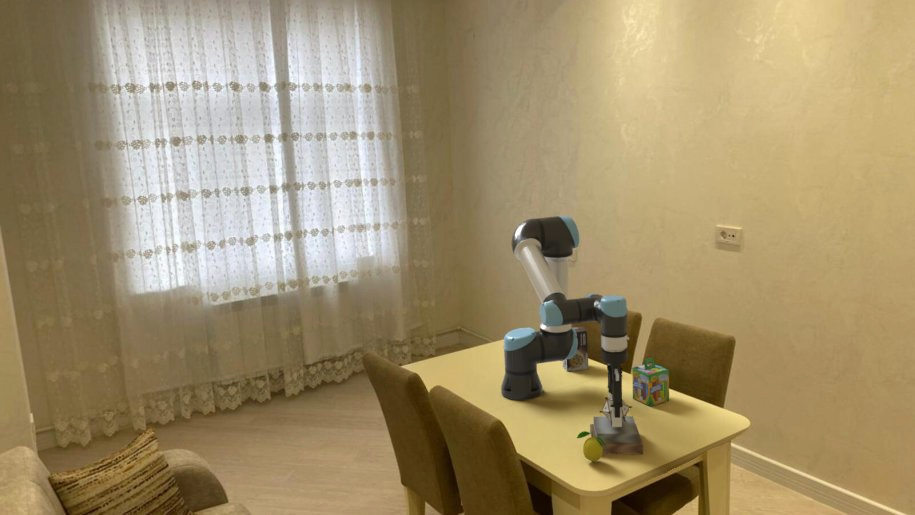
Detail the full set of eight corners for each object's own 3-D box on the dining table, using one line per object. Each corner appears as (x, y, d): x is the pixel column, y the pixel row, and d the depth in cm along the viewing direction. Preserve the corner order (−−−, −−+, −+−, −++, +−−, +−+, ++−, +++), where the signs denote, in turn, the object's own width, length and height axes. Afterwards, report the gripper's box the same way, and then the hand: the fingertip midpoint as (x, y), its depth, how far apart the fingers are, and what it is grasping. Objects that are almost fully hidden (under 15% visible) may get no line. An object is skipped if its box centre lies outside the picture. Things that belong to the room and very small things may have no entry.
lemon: (577, 459, 194) (576, 427, 192) (593, 454, 196) (593, 423, 195) (591, 469, 188) (590, 436, 186) (607, 464, 190) (607, 431, 189)
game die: (621, 434, 201) (633, 419, 194) (594, 425, 202) (605, 409, 194) (624, 409, 207) (636, 393, 200) (598, 400, 208) (609, 384, 200)
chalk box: (650, 407, 227) (650, 365, 224) (631, 398, 235) (631, 358, 232) (670, 401, 231) (670, 360, 228) (651, 392, 239) (651, 353, 237)
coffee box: (583, 364, 272) (582, 325, 269) (588, 369, 266) (587, 330, 263) (561, 366, 271) (560, 328, 268) (566, 371, 264) (565, 332, 262)
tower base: (594, 454, 197) (594, 435, 196) (590, 433, 210) (589, 415, 209) (643, 454, 195) (642, 434, 194) (635, 432, 209) (635, 414, 208)
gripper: (632, 359, 187) (633, 435, 191) (622, 337, 207) (623, 406, 211) (605, 360, 188) (606, 435, 192) (597, 337, 208) (599, 406, 212)
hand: (615, 420), depth 202 cm, fingers closed on game die, 8 cm apart
